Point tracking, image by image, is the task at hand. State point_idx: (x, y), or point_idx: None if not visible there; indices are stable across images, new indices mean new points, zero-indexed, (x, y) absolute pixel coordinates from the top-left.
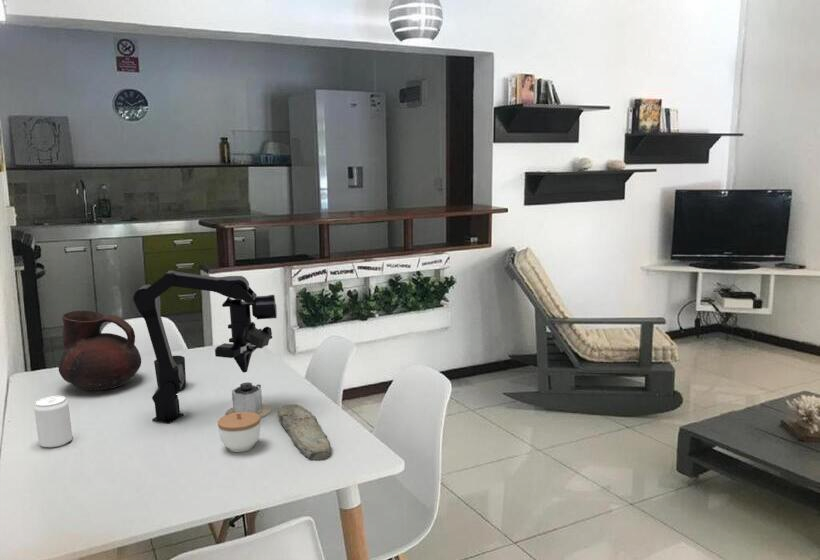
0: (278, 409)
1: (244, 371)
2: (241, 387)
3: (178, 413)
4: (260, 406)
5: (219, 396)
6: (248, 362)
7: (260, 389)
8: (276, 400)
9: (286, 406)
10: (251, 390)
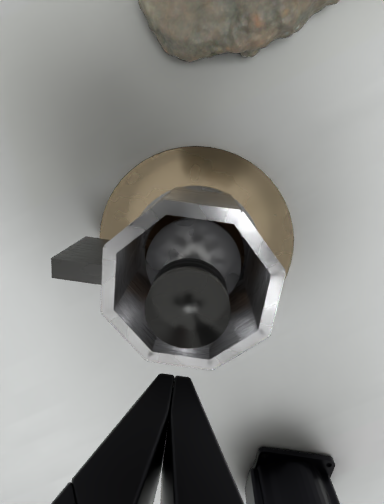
0: (255, 37)
1: (190, 393)
2: (225, 323)
3: (264, 466)
4: (192, 190)
5: (69, 415)
6: (121, 459)
7: (164, 204)
8: (33, 184)
9: (195, 8)
10: (122, 283)
